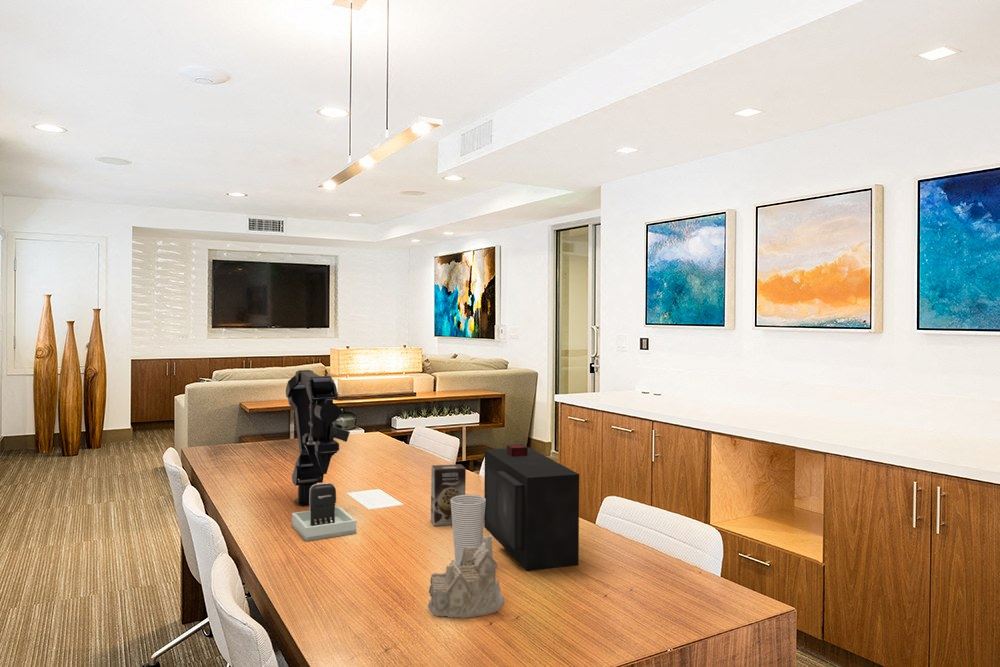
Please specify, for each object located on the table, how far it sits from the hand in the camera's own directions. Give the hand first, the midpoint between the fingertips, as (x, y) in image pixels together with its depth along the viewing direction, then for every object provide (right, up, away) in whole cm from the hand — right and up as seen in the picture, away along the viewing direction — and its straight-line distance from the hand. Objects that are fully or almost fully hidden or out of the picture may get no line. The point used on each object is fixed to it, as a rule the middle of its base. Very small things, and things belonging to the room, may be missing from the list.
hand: (320, 470), depth 202 cm
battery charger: (+4, -13, -14) cm, 19 cm away
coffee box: (+38, -14, -6) cm, 41 cm away
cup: (+46, -15, -39) cm, 62 cm away
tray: (+5, -13, -14) cm, 20 cm away
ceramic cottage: (+46, -15, -60) cm, 78 cm away
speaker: (+59, -14, -25) cm, 66 cm away
